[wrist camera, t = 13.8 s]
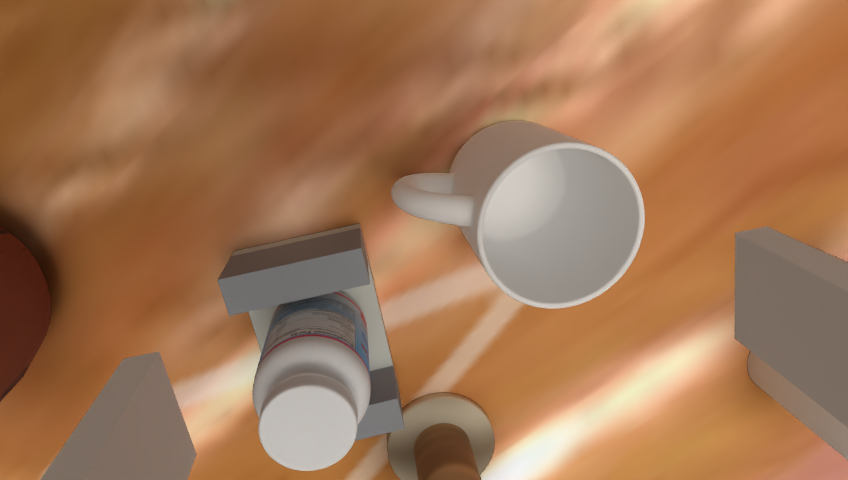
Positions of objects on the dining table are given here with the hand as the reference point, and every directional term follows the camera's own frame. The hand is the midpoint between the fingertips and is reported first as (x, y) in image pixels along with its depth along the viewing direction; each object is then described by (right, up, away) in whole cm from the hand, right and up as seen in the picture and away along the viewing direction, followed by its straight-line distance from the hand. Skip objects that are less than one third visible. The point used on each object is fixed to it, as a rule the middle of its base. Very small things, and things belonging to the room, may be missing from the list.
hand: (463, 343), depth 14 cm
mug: (+3, +6, +25) cm, 26 cm away
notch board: (-8, -3, +26) cm, 27 cm away
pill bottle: (-8, -3, +25) cm, 27 cm away
